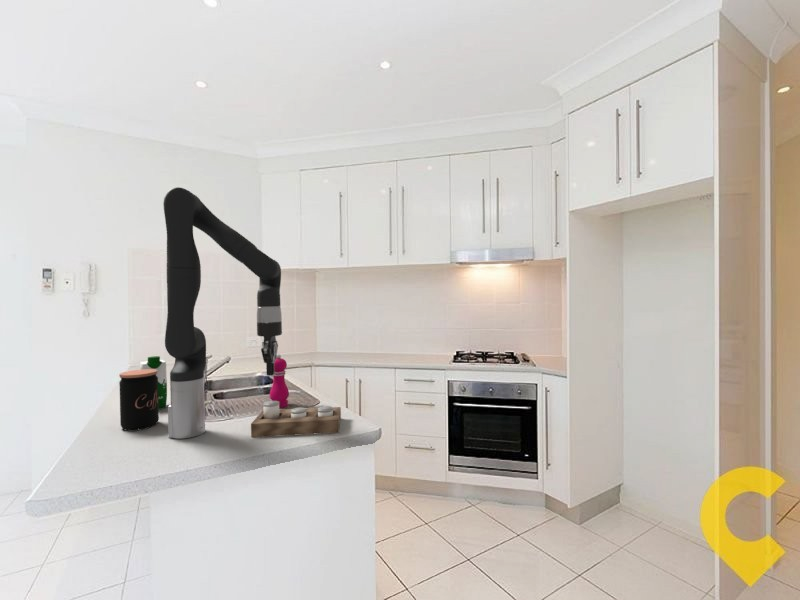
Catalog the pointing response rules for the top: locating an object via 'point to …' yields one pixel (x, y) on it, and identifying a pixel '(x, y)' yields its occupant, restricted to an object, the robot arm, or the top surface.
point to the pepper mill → (279, 383)
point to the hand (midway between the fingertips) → (270, 374)
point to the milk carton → (162, 377)
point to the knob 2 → (325, 411)
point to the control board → (296, 423)
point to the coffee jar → (139, 399)
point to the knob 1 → (271, 410)
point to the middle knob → (298, 412)
